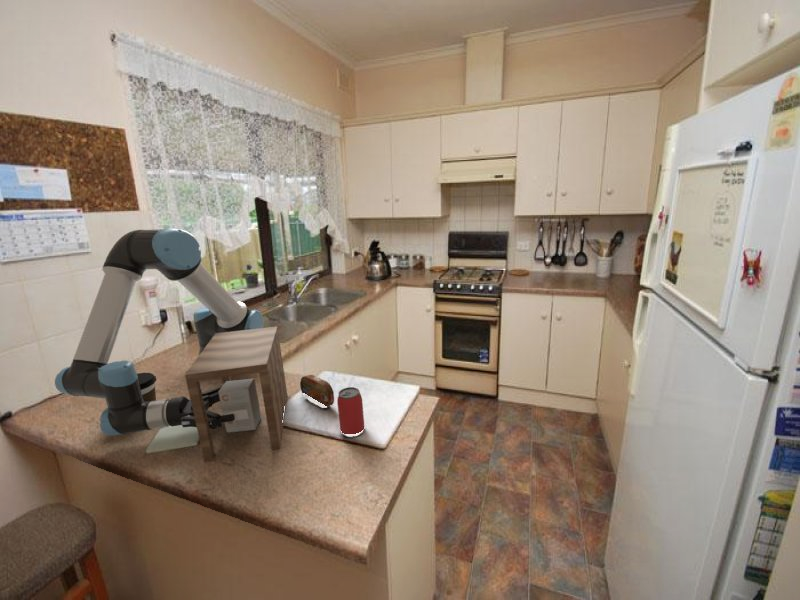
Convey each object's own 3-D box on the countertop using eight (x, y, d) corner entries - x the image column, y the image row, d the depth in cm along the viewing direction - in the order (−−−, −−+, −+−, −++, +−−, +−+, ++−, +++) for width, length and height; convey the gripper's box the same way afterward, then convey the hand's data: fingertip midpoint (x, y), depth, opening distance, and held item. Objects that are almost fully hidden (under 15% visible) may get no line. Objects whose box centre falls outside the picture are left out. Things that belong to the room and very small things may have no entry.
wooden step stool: (229, 403, 118) (215, 333, 111) (287, 394, 121) (277, 326, 115) (204, 462, 91) (184, 374, 85) (279, 448, 95) (266, 363, 88)
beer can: (338, 428, 102) (333, 389, 99) (360, 421, 105) (357, 383, 102) (344, 441, 97) (339, 401, 93) (367, 434, 99) (364, 394, 96)
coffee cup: (113, 422, 111) (102, 386, 107) (148, 403, 121) (139, 369, 117) (138, 428, 107) (128, 391, 104) (172, 408, 117) (163, 373, 114)
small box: (261, 417, 109) (254, 377, 106) (255, 430, 103) (248, 388, 100) (233, 420, 109) (225, 380, 105) (226, 433, 103) (217, 391, 99)
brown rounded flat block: (300, 397, 120) (297, 373, 117) (309, 393, 122) (306, 370, 120) (328, 413, 110) (326, 388, 108) (337, 408, 112) (334, 384, 110)
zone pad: (164, 426, 107) (163, 423, 107) (208, 419, 109) (208, 416, 109) (146, 453, 96) (146, 450, 95) (196, 445, 98) (196, 441, 98)
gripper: (187, 401, 113) (260, 390, 117) (154, 453, 90) (246, 438, 94) (182, 379, 111) (256, 369, 115) (147, 427, 88) (241, 412, 92)
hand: (252, 400), depth 105 cm, fingers open, 13 cm apart
